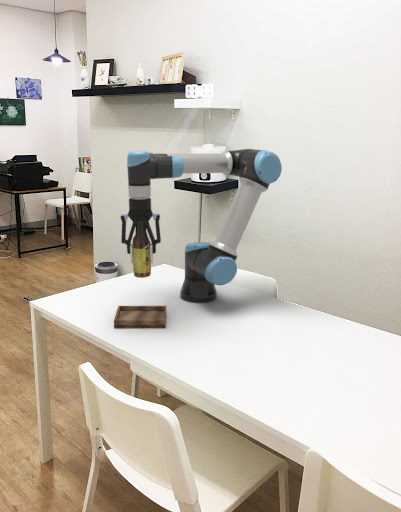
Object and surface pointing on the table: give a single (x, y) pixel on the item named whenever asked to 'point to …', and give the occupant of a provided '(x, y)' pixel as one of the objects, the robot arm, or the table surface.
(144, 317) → the tray
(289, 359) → the table surface
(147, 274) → the sauce bottle
